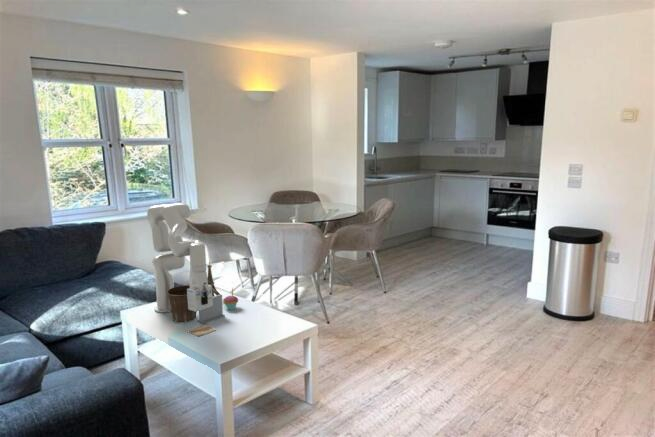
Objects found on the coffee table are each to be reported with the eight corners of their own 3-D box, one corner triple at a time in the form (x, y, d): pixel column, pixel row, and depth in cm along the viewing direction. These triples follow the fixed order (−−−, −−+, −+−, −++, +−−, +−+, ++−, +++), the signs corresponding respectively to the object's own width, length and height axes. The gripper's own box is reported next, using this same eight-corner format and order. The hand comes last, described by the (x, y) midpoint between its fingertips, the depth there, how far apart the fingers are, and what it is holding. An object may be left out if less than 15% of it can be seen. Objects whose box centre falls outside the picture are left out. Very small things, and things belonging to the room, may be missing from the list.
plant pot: (191, 325, 235) (189, 295, 233) (162, 323, 239) (160, 293, 236) (205, 314, 251) (204, 286, 249) (178, 312, 254) (177, 284, 252)
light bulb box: (204, 303, 233) (203, 283, 231) (213, 305, 229) (212, 285, 227) (187, 309, 224) (186, 288, 223) (196, 312, 221) (195, 290, 219)
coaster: (187, 331, 228) (187, 330, 228) (204, 325, 236) (204, 324, 236) (198, 336, 222) (198, 335, 222) (215, 330, 229) (215, 329, 229)
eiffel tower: (222, 296, 281) (220, 256, 277) (216, 302, 271) (214, 261, 267) (206, 295, 283) (204, 256, 278) (199, 301, 272) (197, 260, 268)
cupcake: (231, 304, 266) (230, 284, 264) (241, 307, 261) (241, 287, 259) (220, 309, 259) (219, 288, 257) (230, 312, 254) (229, 291, 252)
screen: (197, 321, 240) (196, 300, 238) (219, 314, 251) (218, 293, 249) (202, 324, 237) (201, 302, 235) (224, 316, 247) (223, 295, 245)
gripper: (182, 266, 226) (184, 300, 229) (201, 272, 215) (203, 308, 218) (195, 263, 232) (197, 296, 235) (215, 269, 221) (216, 304, 223)
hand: (200, 302), depth 226 cm, fingers closed on light bulb box, 7 cm apart
